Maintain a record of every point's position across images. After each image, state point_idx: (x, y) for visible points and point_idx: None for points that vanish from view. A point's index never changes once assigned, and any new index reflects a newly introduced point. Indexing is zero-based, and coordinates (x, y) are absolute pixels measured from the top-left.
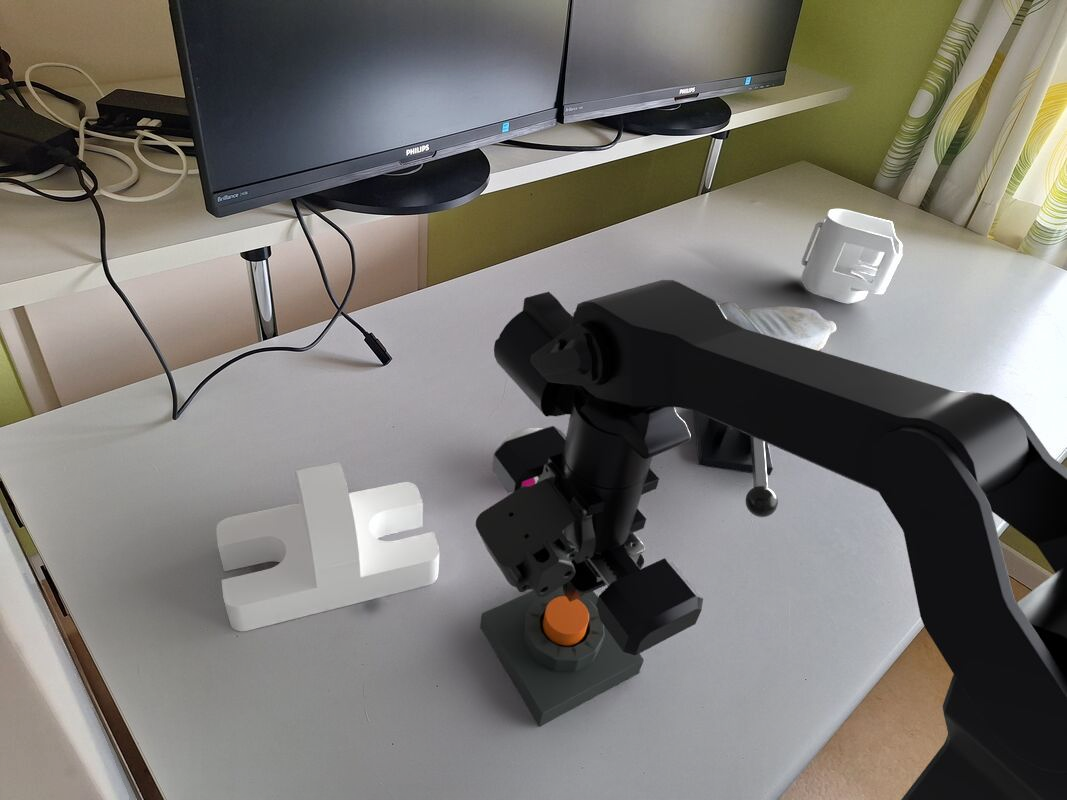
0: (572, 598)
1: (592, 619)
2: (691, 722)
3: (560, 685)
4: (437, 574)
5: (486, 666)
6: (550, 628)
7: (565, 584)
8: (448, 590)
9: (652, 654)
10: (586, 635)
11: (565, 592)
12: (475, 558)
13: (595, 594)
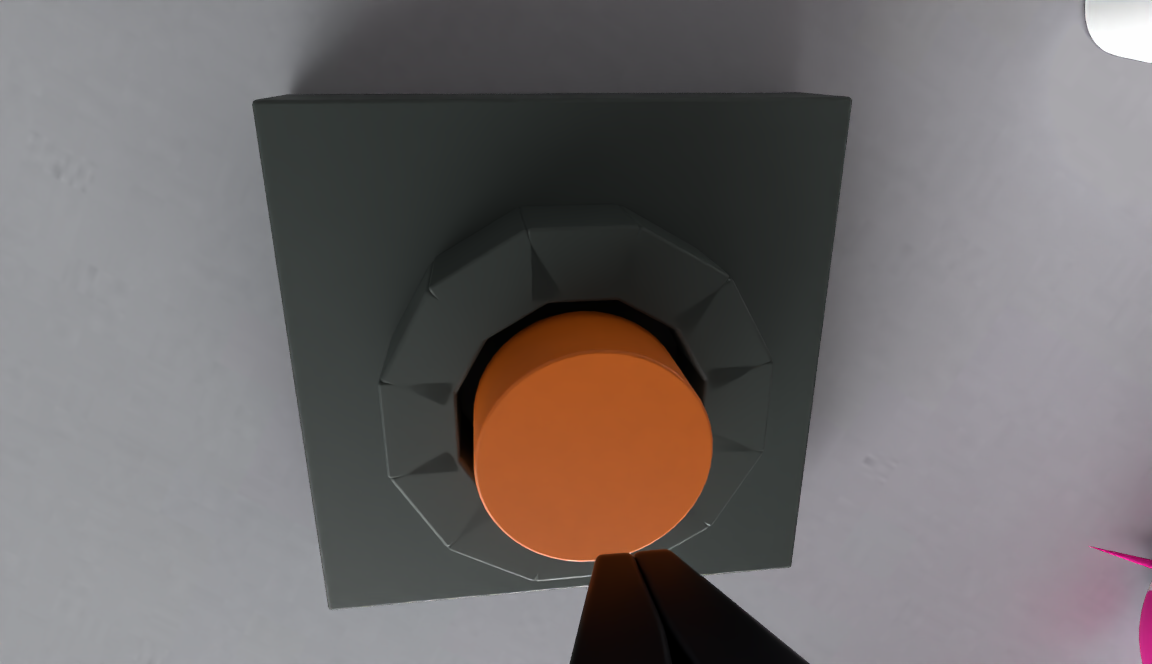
0: (586, 604)
1: None
2: (107, 608)
3: (353, 253)
4: (1114, 35)
5: (632, 26)
6: (573, 345)
7: (694, 653)
8: (1015, 54)
9: (393, 613)
10: None
11: (662, 575)
12: (1061, 233)
13: None
